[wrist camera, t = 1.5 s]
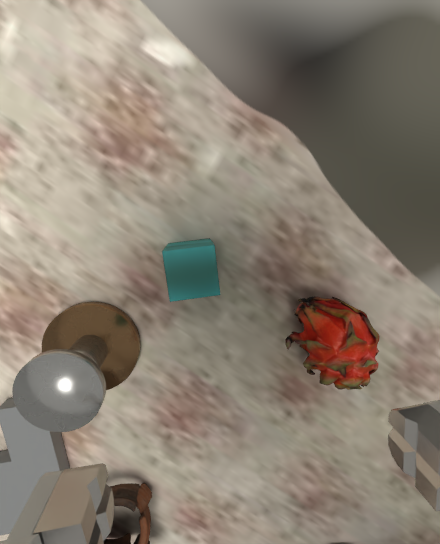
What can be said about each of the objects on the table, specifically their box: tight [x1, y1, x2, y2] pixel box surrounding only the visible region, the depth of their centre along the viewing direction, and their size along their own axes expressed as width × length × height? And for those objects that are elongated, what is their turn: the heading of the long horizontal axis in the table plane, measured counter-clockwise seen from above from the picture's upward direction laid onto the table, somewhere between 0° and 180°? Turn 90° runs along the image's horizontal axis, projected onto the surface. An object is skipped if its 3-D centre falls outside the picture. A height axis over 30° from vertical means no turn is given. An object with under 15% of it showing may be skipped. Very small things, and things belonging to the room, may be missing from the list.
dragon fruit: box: [286, 297, 379, 390], centre depth 32 cm, size 8×8×12 cm
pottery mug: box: [103, 484, 152, 544], centre depth 36 cm, size 12×10×8 cm
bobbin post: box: [13, 302, 140, 432], centre depth 29 cm, size 10×10×10 cm
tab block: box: [162, 238, 220, 302], centre depth 29 cm, size 4×4×7 cm
